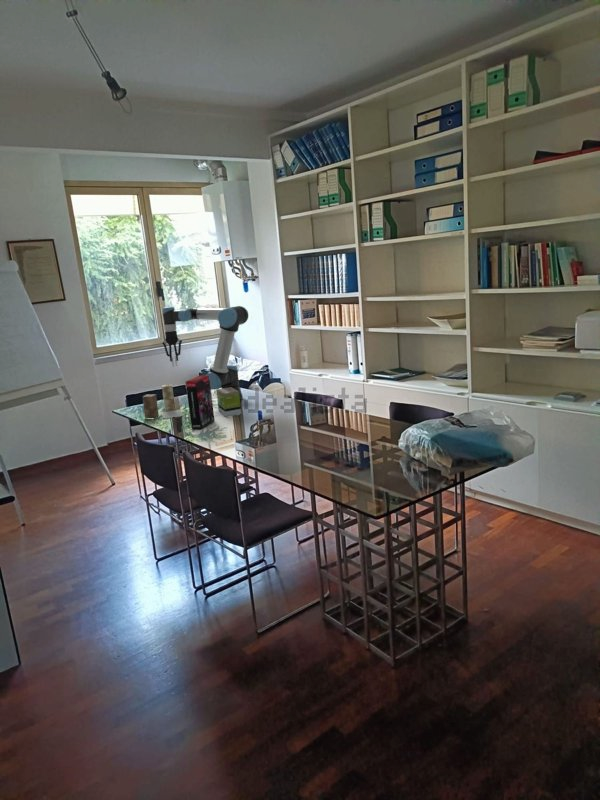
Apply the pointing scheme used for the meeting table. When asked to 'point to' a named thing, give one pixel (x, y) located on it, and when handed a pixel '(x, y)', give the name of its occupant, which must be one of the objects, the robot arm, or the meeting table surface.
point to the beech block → (168, 397)
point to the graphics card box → (200, 402)
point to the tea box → (228, 401)
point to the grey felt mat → (172, 414)
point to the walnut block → (150, 406)
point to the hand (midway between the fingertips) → (174, 366)
